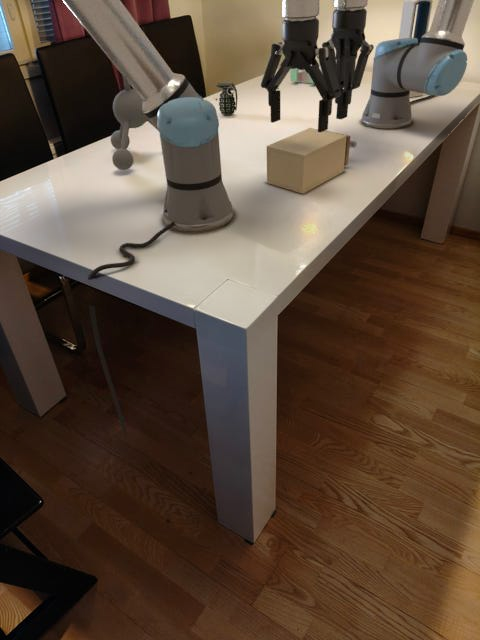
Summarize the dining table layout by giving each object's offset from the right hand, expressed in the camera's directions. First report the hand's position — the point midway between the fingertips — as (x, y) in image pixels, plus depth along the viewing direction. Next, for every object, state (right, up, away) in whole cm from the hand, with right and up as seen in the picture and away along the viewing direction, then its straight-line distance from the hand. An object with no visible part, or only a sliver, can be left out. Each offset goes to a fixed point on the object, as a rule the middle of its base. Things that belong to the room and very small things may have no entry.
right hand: (341, 117), depth 124 cm
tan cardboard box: (-9, -16, -1) cm, 18 cm away
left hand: (-12, -7, -12) cm, 18 cm away
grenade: (-30, +20, +45) cm, 58 cm away
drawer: (-5, -12, +2) cm, 13 cm away
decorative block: (+7, +51, +83) cm, 97 cm away
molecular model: (-53, -4, +17) cm, 55 cm away
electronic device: (+34, +31, +55) cm, 72 cm away
